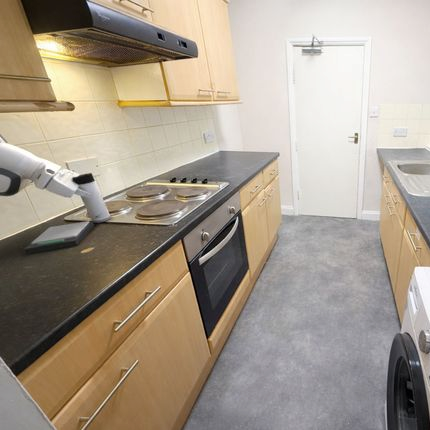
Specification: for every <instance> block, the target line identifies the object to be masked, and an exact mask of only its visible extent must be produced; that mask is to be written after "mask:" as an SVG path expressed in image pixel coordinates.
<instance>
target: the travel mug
mask: <svg viewBox="0 0 430 430" xmlns="http://www.w3.org/2000/svg"><path fill="white" fill-rule="evenodd" d="M72 179H73V181H74V182H75V183H77V184H78V185H79V187H78V188H79V189H81V190H82V191H85V192H90V193H92V195H91V197H90V198H87V197H84V196H80V198H81V200H82V203H83V206H84V207H85V210H86V211H87V213H88V214H87V215H88V216H89V218H90V220H91V221H93V223H94V224H100V223H103V222H107V221H109V220H110V219H111V218H112V216H111V215H110V212H109V210H108V207H107V205H106V203H105V201H104V198H103V196H102V193H101V191H100V188H99V186H98V183H97V181H96V180H95V177H94V175H93V173H92V172H88V173H83V174H80V175H79V176H77V177H73V178H72Z"/></svg>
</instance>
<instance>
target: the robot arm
mask: <svg viewBox="0 0 430 430" xmlns="http://www.w3.org/2000/svg"><path fill="white" fill-rule="evenodd" d="M79 175H81V174H80V173H77V172H75V171H72V170H70V169H67V168H63V167H62V166H61V165H59V164H56V163H54V162H53V161H50V160H48V159H46V158H42V157H38V156H36V154H33V153H32V152H31V151H28V150H26V149H24V148H21V147H18V146H16V145H14V144H11V143H9V142H8V141H7V140H6V139H5V137H3V136H2V135H1V134H0V197H13V196H15V195H17V194H19V193H20V192H21V191H22V190H24V189H25V188H26V187H28V186H29V185H30V184H33V183H34V187H35V188H36V189H39V190H44V189H45V190H46V191H48V192H50V193H52V194H55V195H57V196H61V197H63V198H72V197H73V195H76V196H80V197H81V196H84V197H87V198H90V197H91V195H92V193H90V192H85V191H82V190H81V189H79V188H78V187H79V185H78V184H77V183H75V182H74V181H73V179H72V178H73V177H77V176H79Z"/></svg>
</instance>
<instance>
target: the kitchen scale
mask: <svg viewBox="0 0 430 430" xmlns="http://www.w3.org/2000/svg"><path fill="white" fill-rule="evenodd" d="M95 226H96V225H95V223H93V221H92V220H91V221H90V220H86V221H81V222H75V223H68V224H62V225H54V226H49V227H48V228H47V229H46V230H44V232H42V233H41V234H40V235H39V236H38V237H36V238H35V239H34V240H33V241H32V242H31V243H30V244H28V245H27V246H26V247H25V248H24V251H25V253H26V254H27V255H30V254H34V253H40V252H47V251H52V250H57V249H65V248H69V247H74V246H79V244H80V243H81V242H82V241H83V240H84V239H85V238H86V236H87V235H88V234H89V233H90V232H91V230H92V229H93V228H94V227H95Z"/></svg>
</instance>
